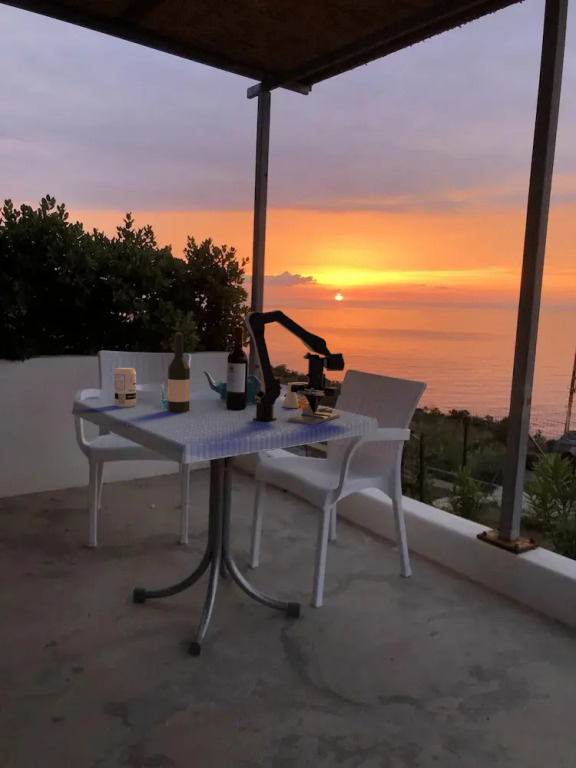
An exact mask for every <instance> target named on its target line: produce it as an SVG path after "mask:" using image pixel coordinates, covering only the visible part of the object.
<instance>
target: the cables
mask: <svg viewBox="0 0 576 768" xmlns="http://www.w3.org/2000/svg"><path fill="white" fill-rule="evenodd" d="M317 411H319V412H326V413H333V409H332V408H331V409H330V406H324V407H320V408H318V409H317Z"/></svg>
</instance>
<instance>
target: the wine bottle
mask: <svg viewBox="0 0 576 768" xmlns="http://www.w3.org/2000/svg"><path fill="white" fill-rule="evenodd" d="M184 339H185V337H184V334H183V332H175V334H174V357H173V359H172V360H171V362H170V363H169V365H168V366H167V411H168V412H169V413H175V414H177V413H178V414H179V413H180V412H185V413H188V412H187V411H189V412H190V393H191V392H190V389H191V388H190V381H191V379H190V377H191V376H190V375H191V373H190V372H191V368H190V366H189V364H188V363H187V361H186V359H185V358H184V344H185V343H184ZM180 414H181V413H180Z"/></svg>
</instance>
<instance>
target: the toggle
mask: <svg viewBox="0 0 576 768" xmlns="http://www.w3.org/2000/svg"><path fill="white" fill-rule="evenodd" d="M301 414H307V415H311V414H313V411H312V409H311V407H310V404H309V402H308V401H306V402H304V404H303V407H302V413H301Z"/></svg>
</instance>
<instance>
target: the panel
mask: <svg viewBox="0 0 576 768" xmlns="http://www.w3.org/2000/svg"><path fill="white" fill-rule="evenodd" d="M337 418H340V414H339V413H333V412H330V413H326V412H319V411H316V413H313V414H311V415H307V414H302V413H300V415H296V416H294V417H293V416H292V417H289V418H288V421H289V422H293V423H299V424H306V425H317V424H319V423H323V422H326V421H331V420H333V419H337Z"/></svg>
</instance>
